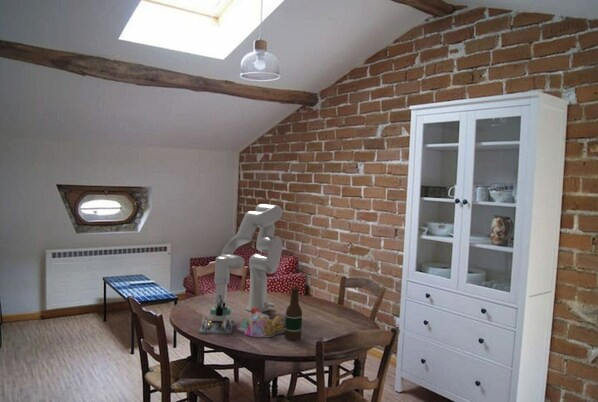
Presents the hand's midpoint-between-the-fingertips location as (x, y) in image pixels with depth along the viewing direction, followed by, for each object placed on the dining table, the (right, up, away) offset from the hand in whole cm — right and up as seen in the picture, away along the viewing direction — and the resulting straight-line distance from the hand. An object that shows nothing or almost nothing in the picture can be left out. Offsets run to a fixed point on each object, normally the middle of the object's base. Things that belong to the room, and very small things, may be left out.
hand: (220, 312), depth 232 cm
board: (0, 0, 0) cm, 0 cm away
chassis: (+1, -4, -15) cm, 15 cm away
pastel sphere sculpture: (+22, -6, -12) cm, 25 cm away
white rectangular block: (0, -4, 0) cm, 4 cm away
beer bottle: (+38, -7, -22) cm, 44 cm away
